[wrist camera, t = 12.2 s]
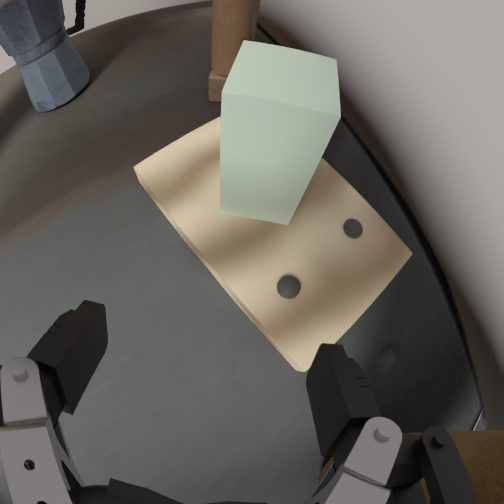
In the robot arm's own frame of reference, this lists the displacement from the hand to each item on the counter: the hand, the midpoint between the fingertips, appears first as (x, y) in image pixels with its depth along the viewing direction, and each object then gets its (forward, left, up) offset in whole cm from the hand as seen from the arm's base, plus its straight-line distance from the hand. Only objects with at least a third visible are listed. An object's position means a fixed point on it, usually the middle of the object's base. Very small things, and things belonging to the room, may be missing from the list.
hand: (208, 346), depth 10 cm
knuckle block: (-7, +10, -8) cm, 15 cm away
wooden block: (-22, +19, -11) cm, 31 cm away
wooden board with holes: (-5, +10, -11) cm, 15 cm away
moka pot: (-37, +2, -11) cm, 39 cm away
